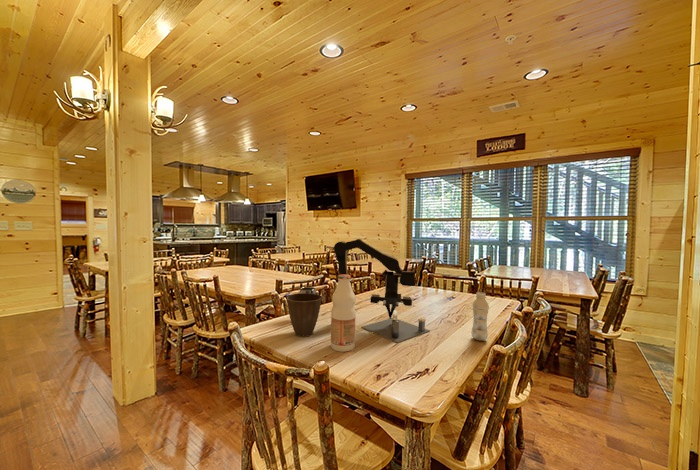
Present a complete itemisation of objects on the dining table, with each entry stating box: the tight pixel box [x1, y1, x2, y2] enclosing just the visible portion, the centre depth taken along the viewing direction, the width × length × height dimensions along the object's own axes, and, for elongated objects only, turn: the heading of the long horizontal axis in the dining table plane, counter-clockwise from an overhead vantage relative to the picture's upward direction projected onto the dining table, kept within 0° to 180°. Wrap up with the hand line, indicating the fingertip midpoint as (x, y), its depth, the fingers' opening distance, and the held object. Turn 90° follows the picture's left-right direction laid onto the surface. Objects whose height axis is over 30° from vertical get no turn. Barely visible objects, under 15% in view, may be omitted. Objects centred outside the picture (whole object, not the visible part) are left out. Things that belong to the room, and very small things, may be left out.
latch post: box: [417, 317, 427, 332], centre depth 130 cm, size 2×2×6 cm
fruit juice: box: [330, 274, 357, 353], centre depth 111 cm, size 9×9×28 cm
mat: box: [361, 317, 430, 344], centre depth 132 cm, size 22×22×1 cm
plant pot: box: [286, 292, 322, 338], centre depth 125 cm, size 15×15×16 cm
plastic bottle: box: [470, 291, 490, 342], centre depth 122 cm, size 6×7×20 cm
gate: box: [392, 309, 398, 320], centre depth 131 cm, size 16×2×6 cm, turn 172°
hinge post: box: [391, 319, 400, 339], centre depth 121 cm, size 3×3×8 cm
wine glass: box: [299, 286, 316, 294], centre depth 145 cm, size 8×8×15 cm
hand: (390, 318), depth 134 cm, fingers closed
